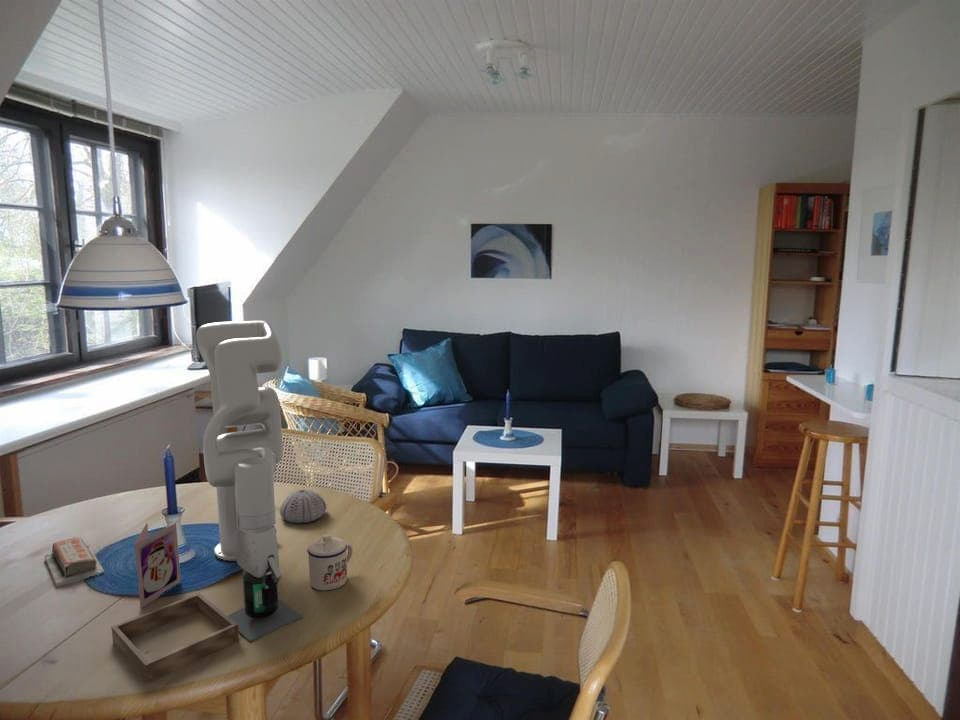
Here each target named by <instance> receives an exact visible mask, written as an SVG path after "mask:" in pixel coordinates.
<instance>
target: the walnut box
mask: <svg viewBox="0 0 960 720" xmlns="http://www.w3.org/2000/svg"><path fill="white" fill-rule="evenodd" d="M197 611H198V612H200V613H201V614H202V615H203V616H204V617H205V618H206V619H208V620H209V621H210V622H211V623H212V624H213V625H215V626H216V627H217V628H218V629H219V630H217V631H215V632H211V633H210V634H208V635H206V636H203V637H201V638H199V639H196V640H193V641H192V642H190V643H188V644H184V645H182V646H180V647H179V648H176V649H174V650H171V651H169V652H167V653H165V654H162V655H160V656H158V657H156V658H154V659H153V658H152V659H151V660H148V659H147V658H146V657H145V655H143V654H142V653H141V651H140V650H139V649H138V648H137V647H136V646H135V645H134V644H133V642H131V640H130V639H132V638H133V637H134V638H135V637H136V636H139V635H142V634H144V633H147V632H149V631H151V630H153V629H156V628H158V627H161V626H163V625H166V624H168V623H171V622H173V621H176V620H179V619H181V618H184V617H185V616H188V615H190V614H193V613H196V612H197ZM227 615H228V614H226V613H224V611H222V610H221V609H219V608H218V606H216V605H215V604H213V603H212V602H211V601H210V600H209V599H207V598H206V597H205V596H204V595H203V594H201V593H200V592H198V593H195V594H192V595H190V596H187V597H185V598H181V599H180V600H176V601H174V602H172V603H169V604H167V605H164V606H161V607H158V608H157V609H156V608H155V609H154V610H151V611H148V612H146V613H144V614H141V615H139V616H136V617H133V618H131V619H128V620H125V621H123V622H120V623H118V624H114V625H112V626H111V635H112V636H111V637H112V643H113V644H114V646H115V647H116V648H117V649H118V651H119V652H120V653H121V654H122V655H123V656H124V658H126V660H127V661H128V662H129V663H130V664H131V666H132V667H133V668H134V670H136V671H137V673H138V674H139V675H140V676H141V678H143V680H144V681H145V682H146V683H147V684H149V682H152V681H154V680H156V679H159V678H161V677H162V676H165V675H167V674H169V673H172V672H173V671H176V670H178V669H180V668H183V667H184V666H186V665H188V664H192V663H193V662H195V661H198V660H201V659H202V658H204V657H207V656H209V655H210V654H212V653H215V652H217V651H220V650H222V649H223V648H226V647H228V646H230V645H233V644H235V643H238V642H239V641H240V636H239V635H240V634H239V632H238V624H237V623H235V622H234V621H233V620H232V619H231V618H229V617H228V616H227Z"/></svg>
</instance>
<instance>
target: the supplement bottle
mask: <svg viewBox="0 0 960 720" xmlns="http://www.w3.org/2000/svg"><path fill="white" fill-rule="evenodd" d="M268 571H270V569H269V568H268V569H267V570H266V572H268ZM270 578H272V577H271V574H269V575H267V576H266V579H267V581H268V580H269V579H270ZM262 588H264V587H263V583H262V580H261V578H257V577H255V576H253V575H252V574H250V573H249V572H247V571H245V572H244V574H243V573H242V594H243V608H244V610H245V614H246V615H247V616H248V617H251V618H264V617H268V616H270V615H272V614H273V613H274V612H275V611H276V610H277V608H278V600H277V602H274V603H272V604H270V605H268V606H263V604H262ZM278 592H279V591H278V589H277V594H278ZM278 595H279V594H278Z"/></svg>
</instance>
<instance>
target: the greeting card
mask: <svg viewBox="0 0 960 720" xmlns="http://www.w3.org/2000/svg"><path fill="white" fill-rule="evenodd" d="M148 527H149V526H148V522H146V523H145V525H144V527H143V528H142V530H141V532H140V534H138V535H139V536H138V538H137V539H136V540H135V542H134V551H135V553H134V554H135V562H136V563H135V564H136V565H135V566H136V575H137V585H138V594H139V596H138V597H139V605H140V606H139V607H140V608H143V607H145V606H146V605H148V604H149V603H151V602H152V601H155V600H156V599H158V598H159V597H160V595H161V594H162V593H163V592H164V591H166V590H167V589H169V588H171V587H172V586H174V585H175V584H177V583H179V582H180V581H181V582H182V580H181V570H180V569H181V568H180V556H179V545H178V544H179V543H178V531H177V522H175V523H172V524H171V525H169V526H166V527H165V528H162V530H159V531H157V532H155V533H153V534H151V535H149V528H148ZM162 595H163V594H162ZM162 595H161V596H162Z"/></svg>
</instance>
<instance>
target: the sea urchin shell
mask: <svg viewBox="0 0 960 720" xmlns="http://www.w3.org/2000/svg"><path fill="white" fill-rule="evenodd" d="M326 509H327V503H326V500H325V499H324V498H323V497H322V495H320V494H319V493H317V492H316V491H314V490H311V489H307V488H306V489H297V490H295V491H292V492H291V493H289V495H287V496H286V498H285V499H284V501H283V502H282V503H281V505H280V507H279V514H280V516H281V519H283V521H287V522H289V523H293V524H294V523H295V524H302V523H304V524H306V523H310V522H314V521H317V519H320V518H321V517H323V515H324V514H325V513H326V511H327V510H326Z"/></svg>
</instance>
